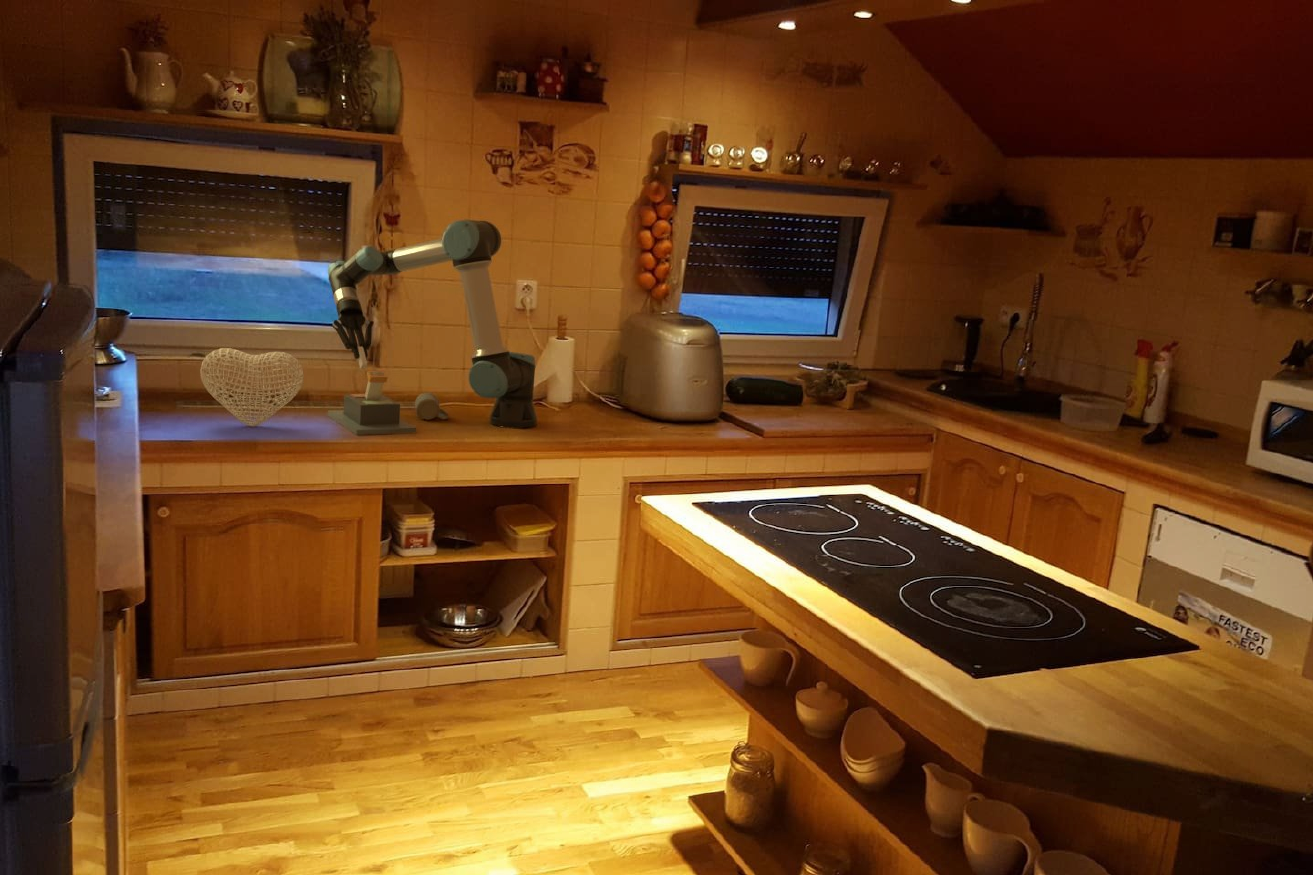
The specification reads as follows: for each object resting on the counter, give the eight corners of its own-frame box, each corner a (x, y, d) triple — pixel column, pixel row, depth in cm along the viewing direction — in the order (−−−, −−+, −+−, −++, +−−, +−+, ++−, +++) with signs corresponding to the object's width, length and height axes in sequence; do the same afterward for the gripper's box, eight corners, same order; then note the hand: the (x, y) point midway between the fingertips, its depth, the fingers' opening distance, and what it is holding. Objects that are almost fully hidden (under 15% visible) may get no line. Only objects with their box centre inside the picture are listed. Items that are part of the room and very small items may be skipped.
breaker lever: (362, 394, 330) (367, 370, 325) (379, 394, 333) (384, 370, 328) (365, 400, 328) (370, 377, 323) (382, 400, 331) (387, 376, 326)
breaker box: (327, 415, 339) (328, 390, 337) (384, 413, 349) (384, 389, 347) (356, 435, 316) (357, 408, 314) (415, 432, 326) (416, 406, 324)
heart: (193, 429, 306) (193, 350, 301) (209, 418, 321) (209, 343, 316) (296, 435, 309) (297, 357, 305) (307, 424, 324) (308, 350, 320)
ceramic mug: (415, 420, 342) (416, 396, 341) (414, 415, 350) (415, 391, 348) (449, 422, 345) (451, 398, 344) (447, 417, 353) (449, 393, 351)
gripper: (365, 312, 351) (381, 373, 341) (324, 312, 344) (339, 373, 334) (371, 298, 346) (387, 359, 336) (330, 297, 339) (345, 359, 329)
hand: (363, 366), depth 335 cm, fingers closed
